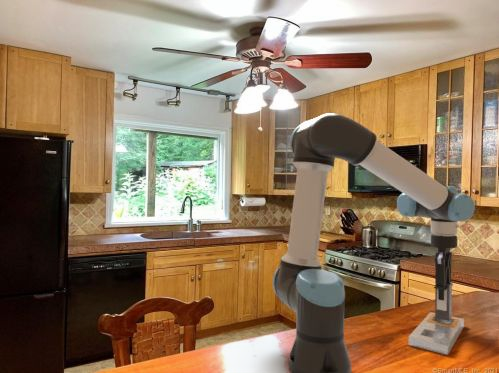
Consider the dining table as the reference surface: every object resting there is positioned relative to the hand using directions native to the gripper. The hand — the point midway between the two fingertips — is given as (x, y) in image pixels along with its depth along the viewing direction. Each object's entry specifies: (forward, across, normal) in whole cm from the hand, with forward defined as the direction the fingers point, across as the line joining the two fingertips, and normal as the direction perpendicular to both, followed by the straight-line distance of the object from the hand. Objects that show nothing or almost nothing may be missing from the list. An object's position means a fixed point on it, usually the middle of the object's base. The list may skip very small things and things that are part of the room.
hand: (443, 307), depth 120 cm
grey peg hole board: (+7, -7, 0) cm, 10 cm away
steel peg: (+3, 0, 0) cm, 3 cm away
